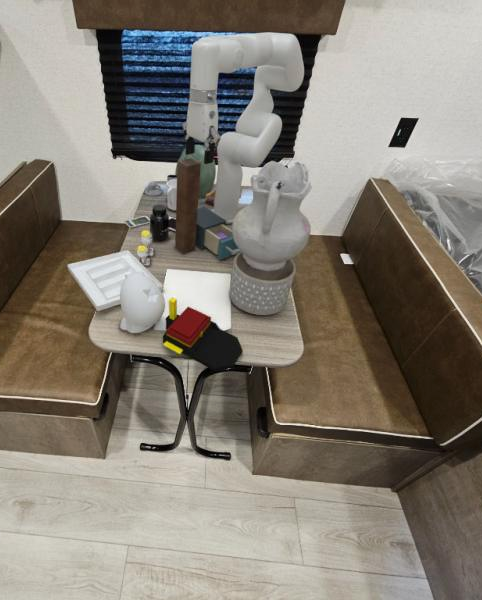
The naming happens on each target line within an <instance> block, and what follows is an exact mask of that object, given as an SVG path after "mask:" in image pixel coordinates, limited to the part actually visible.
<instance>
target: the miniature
mask: <svg viewBox="0 0 482 600" xmlns="http://www.w3.org/2000/svg"><path fill="white" fill-rule="evenodd" d="M162 193H163V190H161V185H160V184H158V183H157V182H156V181H155V180H152V181H149V183H148V185H147V187H146V189H145V190H144V194H145V195H147V196H152V197H156V196H159V195H161V194H162Z"/></svg>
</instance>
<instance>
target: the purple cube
mask: <svg viewBox="0 0 482 600" xmlns="http://www.w3.org/2000/svg"><path fill="white" fill-rule="evenodd" d="M215 235H216V236H218V237H219V238H221V239H220V241H221V240H224V239H227V238H228V236H227V235H225V234H224V233H222V232H221V233H218V234H215Z"/></svg>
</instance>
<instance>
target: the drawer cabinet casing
mask: <svg viewBox="0 0 482 600" xmlns="http://www.w3.org/2000/svg"><path fill="white" fill-rule="evenodd" d="M221 224H223V225H225V226H226V220H224V219H223V218H221V217H220V216H218V215H217V214H215V213H213V212H212V211H211V209H209V208H207V207H206V206H202V207H198V212H197V226H196V240H195V247H197V248H198V249H200V250H201V251H203V250H206V249H208V248H207V247H205V246H204V236H205V230H206V229H209V228H212V227H215V226H218V225H221ZM226 227H227V226H226Z"/></svg>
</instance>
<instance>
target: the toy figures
mask: <svg viewBox="0 0 482 600" xmlns="http://www.w3.org/2000/svg"><path fill="white" fill-rule="evenodd" d="M140 235H141V236H140V241H141V243H142V244H141V245H138V246H137V247H136V254H137V256H138V257H139V259H140V260H139V262H141V264H142V265H143V266H145V267H149V266H150V265H151V262H150V261H151V259H150V258H149V257H153V256H154V248H153V247H152V246H151V245H152V243H153V236H152V232H150V230H147V229H143V230H142V231H141V232H140Z"/></svg>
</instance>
